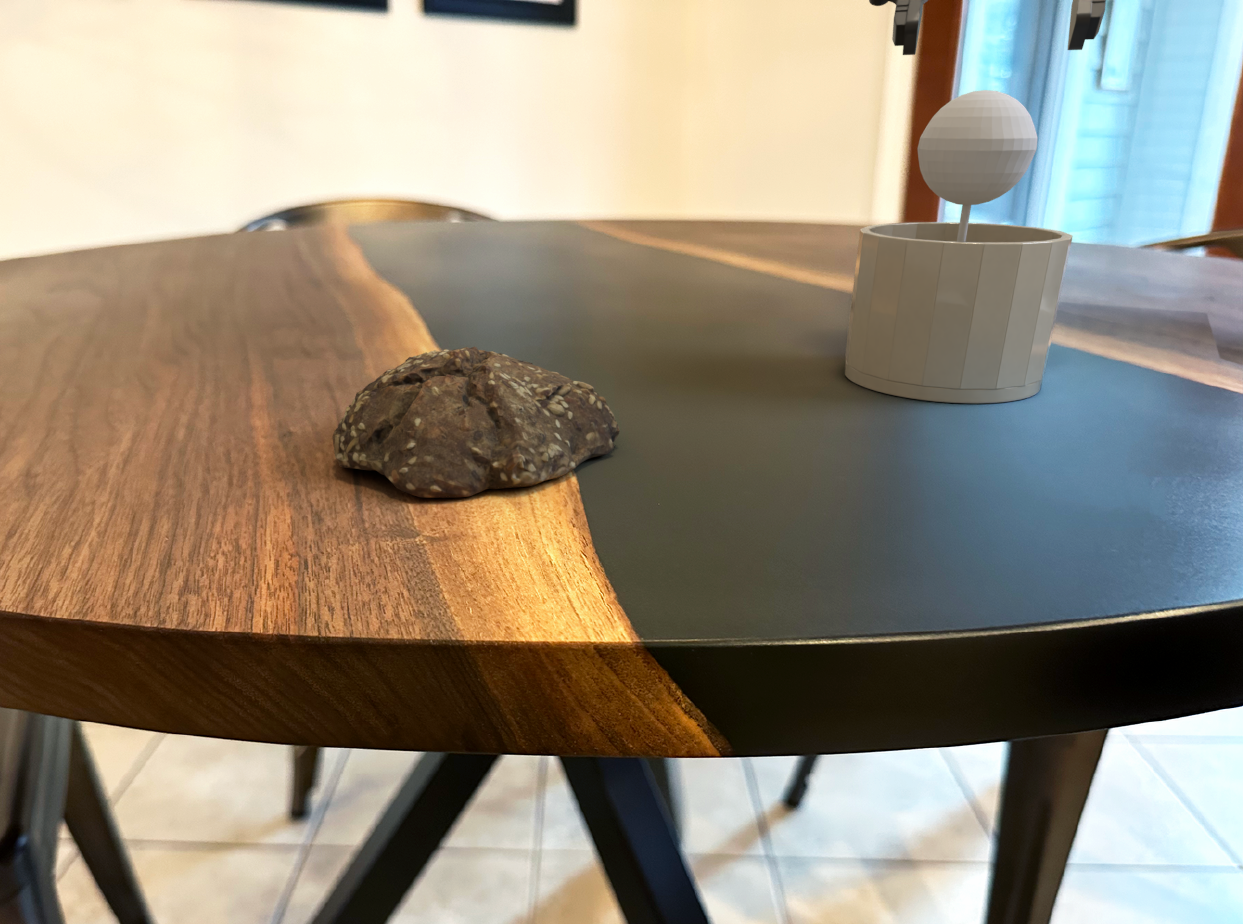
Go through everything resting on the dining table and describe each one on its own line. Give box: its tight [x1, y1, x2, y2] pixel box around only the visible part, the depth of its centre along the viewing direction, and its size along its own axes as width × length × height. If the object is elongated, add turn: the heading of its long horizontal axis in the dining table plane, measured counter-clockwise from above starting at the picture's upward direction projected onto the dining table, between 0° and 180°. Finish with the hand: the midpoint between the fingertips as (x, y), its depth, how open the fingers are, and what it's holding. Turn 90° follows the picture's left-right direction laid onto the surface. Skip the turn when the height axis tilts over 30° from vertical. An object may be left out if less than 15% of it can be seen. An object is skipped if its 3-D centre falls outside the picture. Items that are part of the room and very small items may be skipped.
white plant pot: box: [844, 221, 1074, 404], centre depth 55 cm, size 11×11×8 cm
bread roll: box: [332, 346, 621, 498], centre depth 44 cm, size 13×12×5 cm
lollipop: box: [917, 89, 1039, 242], centre depth 54 cm, size 6×6×15 cm
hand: (992, 39), depth 52 cm, fingers open, 8 cm apart
